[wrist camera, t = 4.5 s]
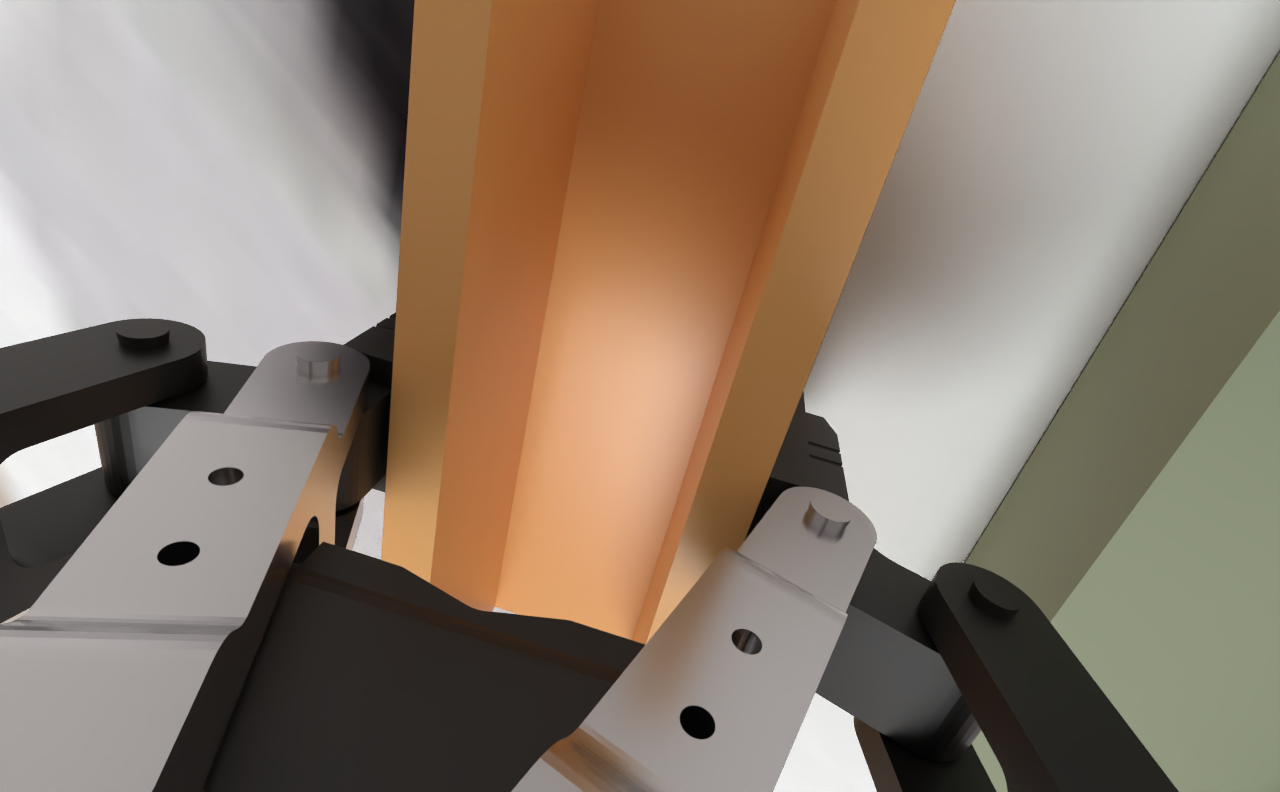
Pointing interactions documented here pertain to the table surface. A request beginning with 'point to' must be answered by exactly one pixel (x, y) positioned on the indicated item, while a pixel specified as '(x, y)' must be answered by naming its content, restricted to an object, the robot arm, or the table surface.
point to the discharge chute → (623, 279)
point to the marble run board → (1174, 487)
